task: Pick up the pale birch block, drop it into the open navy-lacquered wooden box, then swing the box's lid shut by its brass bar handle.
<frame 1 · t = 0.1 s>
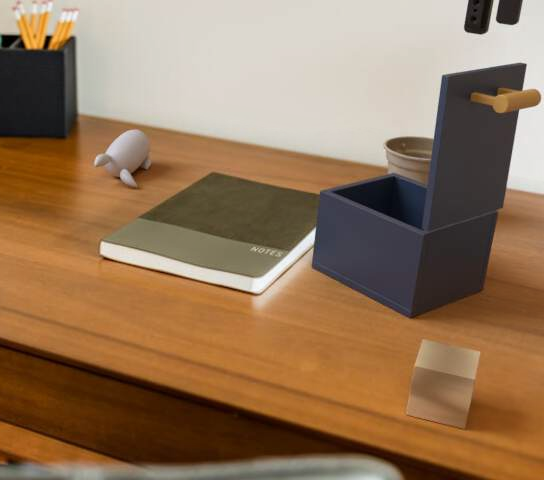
hand: (491, 28, 90), 25 cm above the table, tool pointing down, fingers open, 8 cm apart
grey animal figurine: (125, 176, 121), on the table
block: (439, 407, 73), on the table
lid: (492, 151, 82), point 17 cm above the table, hinge at 88.0°
flower pot: (412, 214, 113), on the table
chest: (395, 278, 95), on the table
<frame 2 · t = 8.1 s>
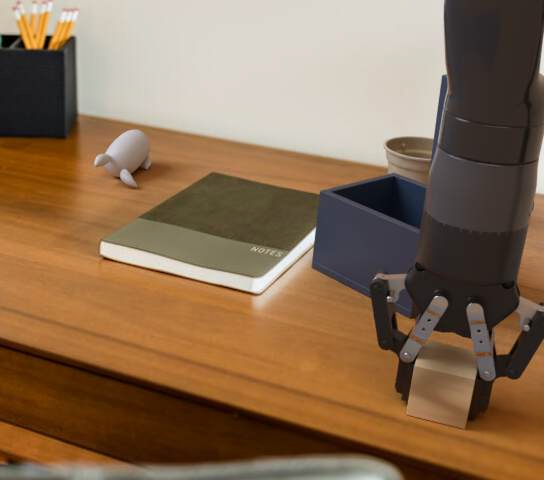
hand: (439, 403, 73), 0 cm above the table, tool pointing down, fingers closed on block, 4 cm apart
block: (438, 407, 73), on the table, touching gripper
everything else where it was.
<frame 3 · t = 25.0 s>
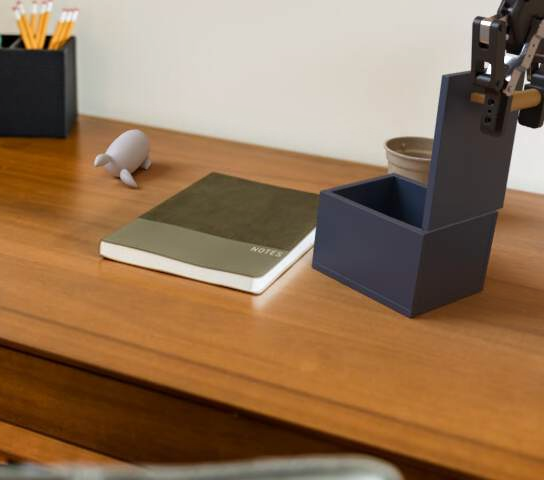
hand: (511, 129, 80), 19 cm above the table, tool pointing down, fingers closed on lid, 5 cm apart
block: (385, 267, 96), point 1 cm above the table, touching chest
lid: (492, 151, 82), point 17 cm above the table, hinge at 88.0°, touching gripper
everything else where it was.
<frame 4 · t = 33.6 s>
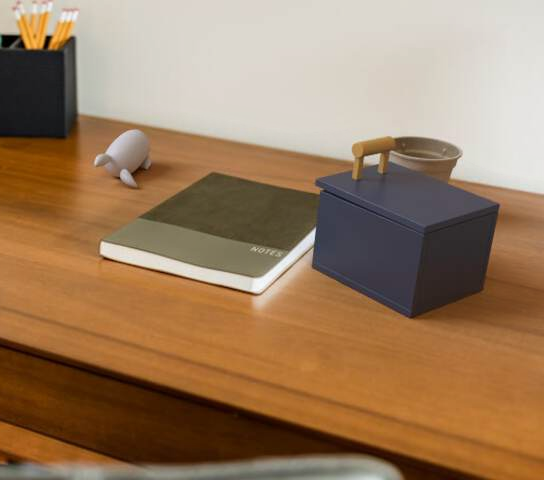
lid: (408, 175, 91), point 11 cm above the table, hinge at 1.0°
everything else where it was.
at the end: block inside the target area in the chest (1.5 cm from its centre), point 0.8 cm above the chest's base; lid at +1° (first picture: +88°) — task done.
